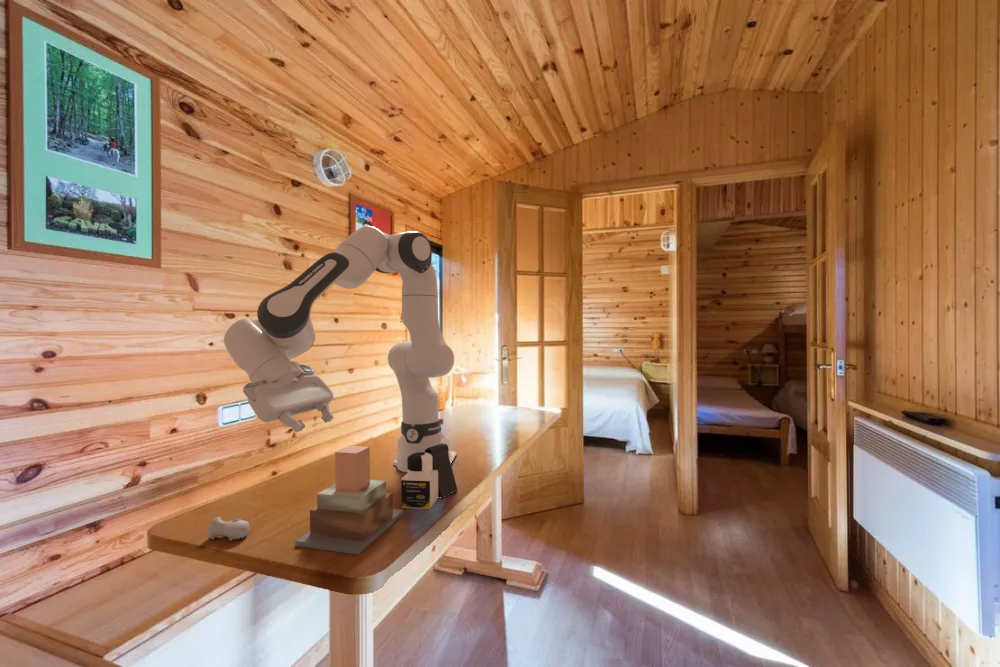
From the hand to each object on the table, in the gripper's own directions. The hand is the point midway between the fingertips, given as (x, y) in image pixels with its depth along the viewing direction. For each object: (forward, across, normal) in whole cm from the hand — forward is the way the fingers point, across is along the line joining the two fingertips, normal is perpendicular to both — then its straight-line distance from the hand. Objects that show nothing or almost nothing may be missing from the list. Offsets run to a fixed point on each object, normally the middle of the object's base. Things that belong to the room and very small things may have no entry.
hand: (316, 424), depth 93 cm
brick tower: (+22, 0, +9) cm, 24 cm away
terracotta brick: (+15, 0, +3) cm, 16 cm away
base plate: (+22, 0, +9) cm, 24 cm away
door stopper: (+28, +24, +3) cm, 37 cm away
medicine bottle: (+28, +16, +4) cm, 32 cm away
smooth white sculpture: (+6, -9, +26) cm, 28 cm away
